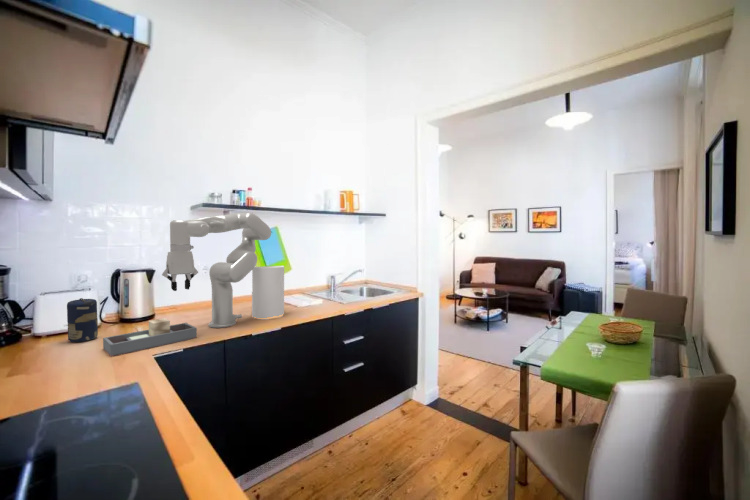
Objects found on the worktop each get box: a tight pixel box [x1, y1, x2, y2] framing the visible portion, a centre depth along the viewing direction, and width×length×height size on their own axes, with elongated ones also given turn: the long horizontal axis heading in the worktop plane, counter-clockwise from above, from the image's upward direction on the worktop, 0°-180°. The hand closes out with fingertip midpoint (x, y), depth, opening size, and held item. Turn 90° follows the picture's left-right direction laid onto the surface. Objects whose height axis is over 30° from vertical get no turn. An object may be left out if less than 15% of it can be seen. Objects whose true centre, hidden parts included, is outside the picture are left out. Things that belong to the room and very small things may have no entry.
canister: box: [66, 297, 99, 343], centre depth 138 cm, size 10×10×18 cm
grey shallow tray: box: [102, 322, 198, 358], centre depth 135 cm, size 30×12×4 cm, turn 140°
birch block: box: [148, 317, 171, 336], centre depth 137 cm, size 6×6×6 cm
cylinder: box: [251, 265, 285, 318], centre depth 183 cm, size 17×17×28 cm
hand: (180, 289), depth 143 cm, fingers open, 4 cm apart
